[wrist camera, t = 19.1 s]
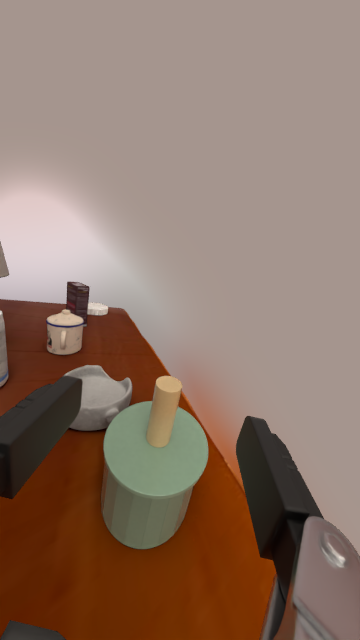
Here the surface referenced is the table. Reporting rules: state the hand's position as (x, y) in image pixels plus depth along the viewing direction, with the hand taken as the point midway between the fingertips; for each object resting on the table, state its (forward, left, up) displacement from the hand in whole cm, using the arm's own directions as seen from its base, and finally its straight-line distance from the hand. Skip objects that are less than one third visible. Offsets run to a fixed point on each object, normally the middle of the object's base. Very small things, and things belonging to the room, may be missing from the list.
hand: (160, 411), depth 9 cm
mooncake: (-85, +38, -22) cm, 95 cm away
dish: (-25, +10, -22) cm, 35 cm away
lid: (-7, +9, -14) cm, 17 cm away
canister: (-7, +9, -22) cm, 25 cm away
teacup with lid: (-50, +13, -22) cm, 56 cm away
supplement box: (-71, +24, -22) cm, 78 cm away
